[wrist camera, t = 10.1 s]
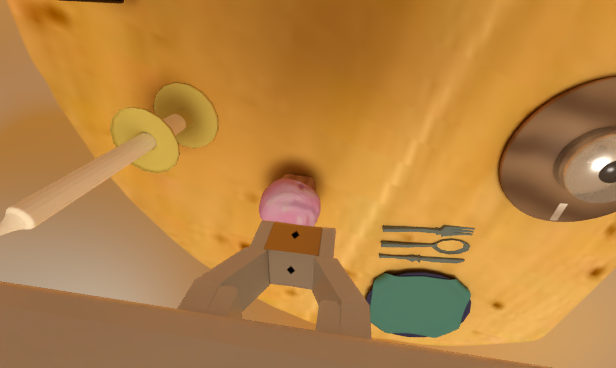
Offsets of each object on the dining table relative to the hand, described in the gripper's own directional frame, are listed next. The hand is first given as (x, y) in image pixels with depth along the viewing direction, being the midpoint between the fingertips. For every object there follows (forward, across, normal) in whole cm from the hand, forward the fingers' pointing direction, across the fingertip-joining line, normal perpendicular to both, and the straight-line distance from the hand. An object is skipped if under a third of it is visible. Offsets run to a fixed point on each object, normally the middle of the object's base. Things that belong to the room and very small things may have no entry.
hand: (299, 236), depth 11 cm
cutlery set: (+30, -19, +36) cm, 50 cm away
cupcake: (+29, +5, +16) cm, 34 cm away
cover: (+28, -33, +7) cm, 44 cm away
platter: (+29, -33, +7) cm, 45 cm away
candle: (+29, +22, +6) cm, 37 cm away
